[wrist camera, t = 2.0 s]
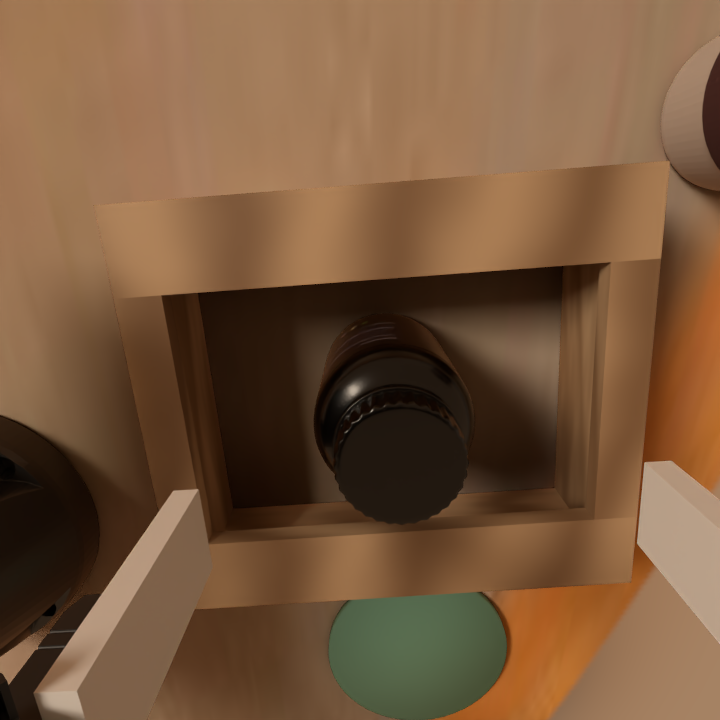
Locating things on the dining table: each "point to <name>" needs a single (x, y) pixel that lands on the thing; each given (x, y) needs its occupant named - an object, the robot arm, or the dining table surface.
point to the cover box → (398, 260)
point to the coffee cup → (695, 118)
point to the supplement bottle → (393, 420)
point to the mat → (417, 653)
